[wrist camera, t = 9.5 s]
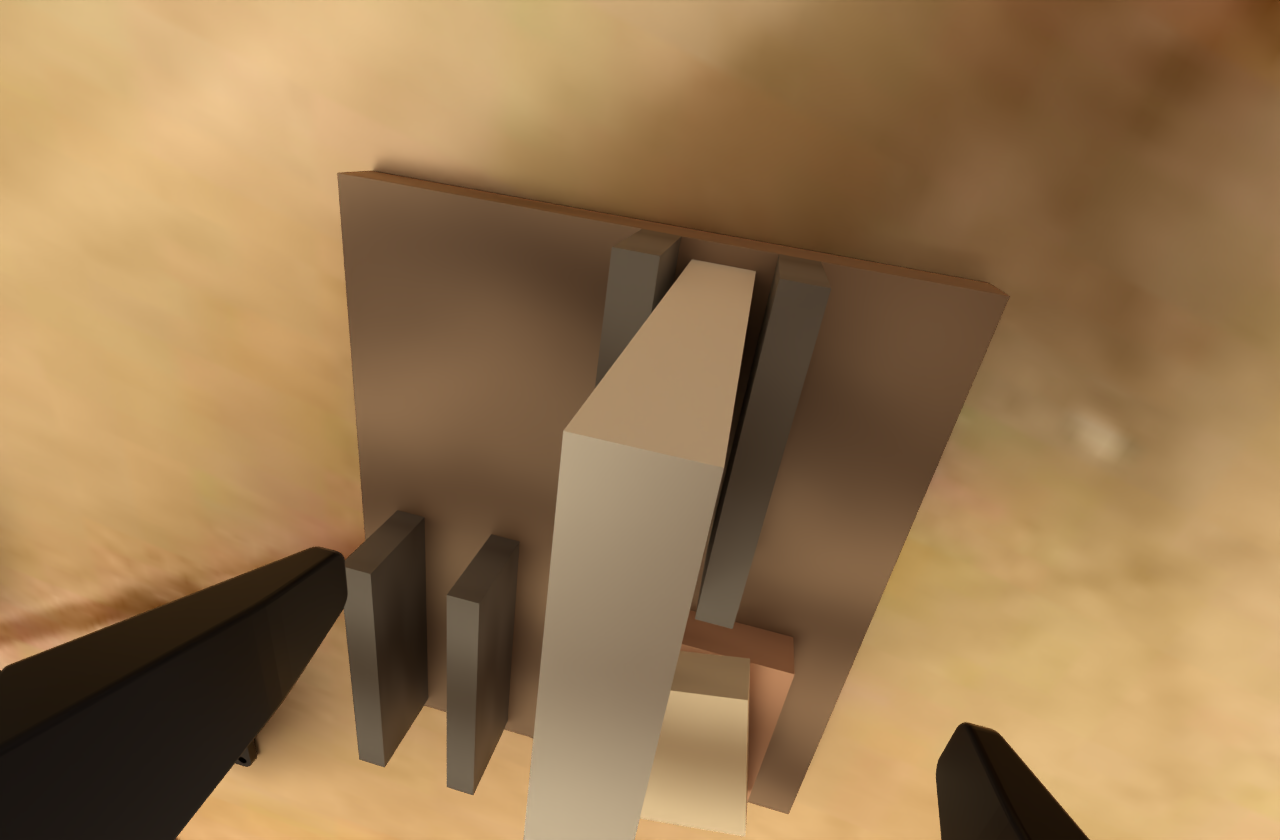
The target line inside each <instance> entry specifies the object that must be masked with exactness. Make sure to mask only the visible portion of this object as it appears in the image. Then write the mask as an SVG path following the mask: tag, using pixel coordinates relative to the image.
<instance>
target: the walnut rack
mask: <svg viewBox="0 0 1280 840" xmlns="http://www.w3.org/2000/svg"><path fill="white" fill-rule="evenodd" d="M337 175H338V188H339V201H340V214H341V227H342V240H343V253H344V267H345V280H346V293H347V306H348V319H349V332H350V345H351V358H352V371H353V384H354V398H355V411H356V424H357V437H358V450H359V463H360V476H361V489H362V502H363V515H364V529H365V542H364V543H363V544H361V545H360V546H359V547H358V548H357V549H356V550H355V551H354V552H353V553H352V554H351V555H350V556H349V557H348V558H347V559H346V560H345V568H346V578H347V588H348V596H347V601H346V604H345V606H344V614H345V624H346V634H347V644H348V653H349V663H350V673H351V682H352V692H353V702H354V712H355V721H356V731H357V741H358V750H359V759H360V760H363V761H366V762H369V763H372V764H376V765H379V766H382V767H385V766H386V765H387V763H388V761H389V760H390V758H391V757H392V755H393V754H394V752H395V750H396V749H397V747H398V746H399V744H400V742H401V741H402V739H403V738H404V736H405V735H406V733H407V731H408V730H409V728H410V727H411V725H412V723H413V722H414V720H415V719H416V717H417V716H418V714H419V712H420V711H421V709H422V708H423V706H428V707H431V708H434V709H438V710H441V711H445V712H447V787H449V788H452V789H455V790H458V791H461V792H464V793H468V794H471V795H474V792H475V790H476V788H477V786H478V784H479V782H480V780H481V777H482V775H483V773H484V771H485V769H486V767H487V765H488V762H489V760H490V758H491V756H492V754H493V752H494V750H495V747H496V745H497V743H498V741H499V739H500V737H501V735H502V733H503V730H504V729H505V730H508V731H511V732H515V733H518V734H522V735H525V736H528V737H532V738H533V737H534V727H535V717H536V706H537V696H538V686H539V675H540V665H541V655H542V645H543V634H544V624H545V614H546V604H547V593H548V583H549V573H550V563H551V552H552V542H553V532H554V521H555V511H556V501H557V491H558V480H559V470H560V460H561V450H562V439H563V431H564V429H565V428H566V427H567V425H568V424H569V423H570V421H571V420H572V419H573V417H574V416H575V415H576V413H577V412H578V411H579V409H580V408H581V407H582V405H583V404H584V403H585V401H586V400H587V399H588V397H589V396H590V395H591V393H592V392H593V391H594V389H595V388H596V387H597V385H598V384H599V383H600V381H601V380H602V379H603V377H604V376H605V375H606V373H607V372H608V371H609V369H610V368H611V367H612V365H613V364H614V363H615V361H616V360H617V359H618V357H619V356H620V355H621V353H622V352H623V351H624V349H625V348H626V347H627V345H628V344H629V343H630V341H631V340H632V339H633V337H634V336H635V335H636V333H637V332H638V331H639V329H640V328H641V327H642V325H643V324H644V323H645V321H646V320H647V319H648V317H649V316H650V315H651V313H652V312H653V311H654V309H655V308H656V307H657V305H658V304H659V303H660V301H661V300H662V299H663V297H664V296H665V295H666V293H667V292H668V291H669V289H670V288H671V287H672V285H673V284H674V283H675V281H676V280H677V279H678V277H679V276H680V275H681V273H682V272H683V271H684V269H685V268H686V267H687V265H688V264H689V263H690V261H691V260H692V259H693V260H699V261H704V262H710V263H715V264H720V265H726V266H731V267H736V268H742V269H747V270H752V271H756V274H755V281H754V287H753V293H752V299H751V305H750V311H749V317H748V324H747V330H746V336H745V342H744V348H743V354H742V361H741V367H740V373H739V379H738V385H737V391H736V397H735V404H734V410H733V416H732V422H731V428H730V434H729V441H728V447H727V453H726V459H725V465H724V470H723V474H722V478H721V483H720V487H719V491H718V495H717V499H716V503H715V508H714V512H713V516H712V520H711V524H710V528H709V532H708V537H707V541H706V545H705V549H704V553H703V557H702V562H701V566H700V570H699V574H698V578H697V582H696V586H695V591H694V595H693V599H692V603H691V607H690V610H691V611H695V612H696V615H695V619H696V620H700V621H704V622H707V623H711V624H715V625H719V626H723V627H726V628H730V629H733V626H734V622H737V623H741V624H745V625H749V626H752V627H756V628H760V629H764V630H768V631H771V632H775V633H779V634H783V635H787V636H791V637H793V641H794V669H795V675H794V678H793V680H792V683H791V686H790V688H789V691H788V694H787V697H786V699H785V702H784V705H783V707H782V710H781V713H780V715H779V718H778V721H777V724H776V726H775V729H774V732H773V734H772V737H771V740H770V742H769V745H768V748H767V751H766V753H765V756H764V759H763V761H762V764H761V767H760V770H759V772H758V775H757V778H756V780H755V783H754V786H753V788H752V791H751V794H750V797H749V799H748V802H749V803H752V804H756V805H759V806H763V807H766V808H769V809H773V810H776V811H779V812H783V813H786V814H789V812H790V810H791V807H792V805H793V803H794V800H795V798H796V796H797V793H798V791H799V788H800V786H801V784H802V781H803V779H804V777H805V774H806V772H807V770H808V767H809V765H810V763H811V760H812V758H813V756H814V753H815V751H816V749H817V746H818V744H819V742H820V739H821V737H822V735H823V732H824V730H825V728H826V725H827V723H828V721H829V718H830V716H831V714H832V711H833V709H834V707H835V704H836V702H837V700H838V697H839V695H840V692H841V690H842V688H843V685H844V683H845V681H846V678H847V676H848V674H849V671H850V669H851V667H852V664H853V662H854V660H855V657H856V655H857V653H858V650H859V648H860V646H861V643H862V641H863V639H864V636H865V634H866V632H867V629H868V627H869V625H870V622H871V620H872V618H873V615H874V613H875V611H876V608H877V606H878V603H879V601H880V599H881V596H882V594H883V592H884V589H885V587H886V585H887V582H888V580H889V578H890V575H891V573H892V571H893V568H894V566H895V564H896V561H897V559H898V557H899V554H900V552H901V550H902V547H903V545H904V543H905V540H906V538H907V536H908V533H909V531H910V529H911V526H912V524H913V522H914V519H915V517H916V514H917V512H918V510H919V507H920V505H921V503H922V500H923V498H924V496H925V493H926V491H927V489H928V486H929V484H930V482H931V479H932V477H933V475H934V472H935V470H936V468H937V465H938V463H939V461H940V458H941V456H942V454H943V451H944V449H945V447H946V444H947V442H948V440H949V437H950V435H951V433H952V430H953V428H954V426H955V423H956V421H957V418H958V416H959V414H960V411H961V409H962V407H963V404H964V402H965V400H966V397H967V395H968V393H969V390H970V388H971V386H972V383H973V381H974V379H975V376H976V374H977V372H978V369H979V367H980V365H981V362H982V360H983V358H984V355H985V353H986V351H987V348H988V346H989V344H990V341H991V339H992V337H993V334H994V332H995V329H996V327H997V325H998V322H999V320H1000V318H1001V315H1002V313H1003V311H1004V308H1005V306H1006V304H1007V301H1008V299H1009V297H1010V296H1008V295H1007V294H1005V293H1004V292H1002V291H1001V290H999V289H998V288H996V287H994V286H993V285H991V284H990V283H987V282H981V281H976V280H970V279H965V278H959V277H953V276H948V275H942V274H937V273H931V272H926V271H920V270H915V269H909V268H904V267H898V266H893V265H887V264H882V263H876V262H871V261H865V260H860V259H854V258H849V257H843V256H838V255H832V254H827V253H821V252H816V251H810V250H805V249H799V248H794V247H788V246H783V245H777V244H772V243H766V242H761V241H755V240H750V239H744V238H739V237H733V236H728V235H722V234H717V233H711V232H706V231H700V230H695V229H689V228H684V227H678V226H673V225H667V224H662V223H656V222H651V221H645V220H640V219H634V218H629V217H623V216H618V215H612V214H607V213H601V212H596V211H590V210H585V209H579V208H574V207H568V206H563V205H557V204H552V203H546V202H541V201H535V200H530V199H524V198H519V197H513V196H508V195H502V194H497V193H491V192H486V191H480V190H475V189H469V188H464V187H458V186H453V185H447V184H442V183H436V182H431V181H425V180H419V179H414V178H408V177H403V176H397V175H392V174H386V173H381V172H375V171H360V172H344V173H337Z"/></svg>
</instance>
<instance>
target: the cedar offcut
mask: <svg viewBox="0 0 1280 840" xmlns="http://www.w3.org/2000/svg"><path fill="white" fill-rule="evenodd" d="M695 615H696V612H695V611H691V610H690V611H689V616H688V620H687V624H686V628H685V632H684V636H683V640H682V645H681V649H680V651H687V652H696V653H705V654H714V655H723V656H732V657H741V658H750V689H749V743H748V794H747V802H748V799H749V797H750V794H751V791H752V788H753V786H754V783H755V780H756V778H757V775H758V772H759V770H760V767H761V764H762V761H763V759H764V756H765V753H766V751H767V748H768V745H769V742H770V740H771V737H772V734H773V732H774V729H775V726H776V724H777V721H778V718H779V715H780V713H781V710H782V707H783V705H784V702H785V699H786V697H787V694H788V691H789V688H790V686H791V683H792V680H793V678H794V675H795V669H794V641H793V637H791V636H787V635H783V634H779V633H775V632H771V631H768V630H764V629H760V628H756V627H752V626H749V625H745V624H741V623H737V622H734V626H733V629H730V628H726V627H723V626H719V625H715V624H711V623H707V622H704V621H700V620H696V619H695Z"/></svg>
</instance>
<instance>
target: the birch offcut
mask: <svg viewBox="0 0 1280 840" xmlns="http://www.w3.org/2000/svg"><path fill="white" fill-rule="evenodd" d="M749 689H750V658H741V657H732V656H723V655H714V654H705V653H696V652H687V651H680V653H679V657H678V661H677V665H676V670H675V674H674V678H673V682H672V686H671V690H670V694H669V699H668V703H667V707H666V711H665V715H664V719H663V724H662V728H661V732H660V736H659V740H658V744H657V748H656V753H655V757H654V761H653V765H652V769H651V773H650V777H649V782H648V786H647V790H646V794H645V798H644V802H643V807H642V811H641V815H640V819H646V820H651V821H657V822H663V823H669V824H674V825H680V826H686V827H692V828H697V829H703V830H709V831H715V832H720V833H726V834H732V835H738V836H743V837H746V816H747V794H748V743H749Z"/></svg>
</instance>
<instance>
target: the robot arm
mask: <svg viewBox="0 0 1280 840" xmlns="http://www.w3.org/2000/svg"><path fill="white" fill-rule="evenodd" d="M347 596H348V588H347V578H346V568H345V560H344V557H343V555H342V554H341V553H340V552H337V551H334V550H330V549H326V548H323V547H312V548H309V549H306V550H304V551H301V552H298V553H296V554H293V555H291V556H288V557H285V558H283V559H280V560H278V561H275V562H273V563H270V564H267V565H265V566H262V567H260V568H257V569H255V570H252V571H249V572H247V573H244V574H242V575H239V576H237V577H234V578H231V579H229V580H226V581H224V582H221V583H219V584H216V585H213V586H211V587H208V588H206V589H203V590H201V591H198V592H195V593H193V594H190V595H188V596H185V597H183V598H180V599H177V600H175V601H172V602H170V603H167V604H165V605H162V606H159V607H157V608H154V609H152V610H149V611H147V612H144V613H141V614H139V615H136V616H134V617H131V618H129V619H126V620H123V621H121V622H118V623H116V624H113V625H111V626H108V627H105V628H103V629H100V630H98V631H95V632H93V633H90V634H87V635H85V636H82V637H80V638H77V639H74V640H72V641H69V642H67V643H64V644H62V645H59V646H56V647H54V648H51V649H49V650H46V651H44V652H41V653H38V654H36V655H33V656H31V657H28V658H26V659H23V660H20V661H18V662H15V663H13V664H10V665H8V666H6V667H5V668H4V669H3V670H2V671H1V670H0V840H175V839H176V837H177V836H178V835H179V833H180V832H181V831H182V830H183V828H184V827H185V826H186V825H187V823H188V822H189V821H190V819H191V818H192V817H193V816H194V814H195V813H196V812H197V811H198V809H199V808H200V807H201V806H202V804H203V803H204V802H205V800H206V799H207V798H208V797H209V795H210V794H211V793H212V792H213V790H214V789H215V788H216V786H217V785H218V784H219V783H220V781H221V780H222V779H223V778H224V776H225V775H226V774H227V772H228V771H229V770H230V769H231V767H232V766H233V765H234V764H235V763H236V764H239V765H242V766H246V767H248V766H250V765H251V764H252V763H253V762H254V761H255V759H256V758H257V754H256V749H255V745H254V740H253V739H254V738H255V737H256V736H257V734H258V733H259V732H260V731H261V729H262V728H263V727H264V725H265V724H266V723H267V722H268V720H269V719H270V718H271V717H272V715H273V714H274V713H275V711H276V710H277V709H278V707H279V706H280V705H281V703H282V702H283V701H284V699H285V698H286V696H287V695H288V693H289V692H290V690H291V689H292V688H293V686H294V685H295V683H296V681H297V680H298V678H299V677H300V675H301V674H302V672H303V671H304V669H305V667H306V666H307V664H308V663H309V661H310V660H311V658H312V657H313V655H314V654H315V652H316V650H317V649H318V647H319V646H320V644H321V643H322V641H323V640H324V638H325V637H326V635H327V633H328V632H329V630H330V629H331V627H332V626H333V624H334V623H335V621H336V619H337V618H338V616H339V615H340V613H341V612H342V610H343V608H344V606H345V604H346V601H347ZM936 784H937V795H938V806H939V818H940V829H941V840H1090V839H1089V838H1088V837H1087V836H1086V835H1085V834H1084V832H1083V831H1082V830H1081V829H1080V828H1079V826H1078V825H1077V824H1076V823H1075V822H1074V821H1073V819H1072V818H1071V817H1070V816H1069V815H1068V813H1067V812H1066V811H1065V810H1064V809H1063V808H1062V806H1061V805H1060V804H1059V803H1058V802H1057V801H1056V799H1055V798H1054V797H1053V796H1052V795H1051V793H1050V792H1049V791H1048V790H1047V789H1046V788H1045V786H1044V785H1043V784H1042V783H1041V782H1040V781H1039V779H1038V778H1037V777H1036V776H1035V775H1034V773H1033V772H1032V771H1031V770H1030V769H1029V768H1028V766H1027V765H1026V764H1025V763H1024V762H1023V761H1022V759H1021V758H1020V757H1019V756H1018V755H1017V753H1016V752H1015V751H1014V750H1013V749H1012V748H1011V746H1010V745H1009V744H1008V743H1007V742H1006V741H1005V739H1004V738H1003V737H1002V736H1001V735H1000V734H999V733H998V732H996V731H995V730H993V729H990V728H986V727H983V726H979V725H975V724H972V723H967V722H964V723H962V724H960V725H959V726H958V727H957V728H956V730H955V732H954V734H953V735H952V737H951V739H950V741H949V742H948V744H947V746H946V747H945V749H944V751H943V753H942V754H941V756H940V758H939V760H938V764H937V769H936Z"/></svg>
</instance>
